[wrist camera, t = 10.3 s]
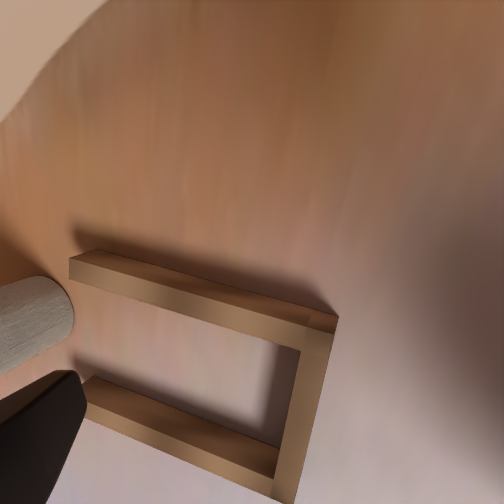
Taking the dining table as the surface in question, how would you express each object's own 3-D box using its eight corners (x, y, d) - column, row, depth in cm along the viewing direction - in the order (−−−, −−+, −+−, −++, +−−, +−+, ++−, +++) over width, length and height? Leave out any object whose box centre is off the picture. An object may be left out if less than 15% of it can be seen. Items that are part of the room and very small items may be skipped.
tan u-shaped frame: (339, 316, 17) (333, 335, 16) (300, 476, 20) (292, 507, 19) (96, 249, 21) (69, 257, 19) (92, 391, 24) (68, 410, 22)
